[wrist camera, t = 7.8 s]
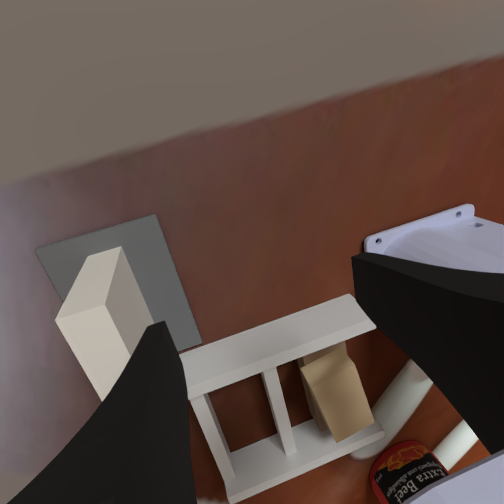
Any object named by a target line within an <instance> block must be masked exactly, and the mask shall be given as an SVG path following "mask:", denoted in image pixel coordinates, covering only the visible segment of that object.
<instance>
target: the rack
mask: <svg viewBox="0 0 504 504" xmlns="http://www.w3.org/2000/svg"><path fill="white" fill-rule="evenodd" d="M373 329H376V325H375V324H374V323H373V322H372V321H371V320H370V319H369V317H368V316H367V315H366V314H365V313H364V311H363V310H362V309H361V307H360V306H359V305H358V304H357V302H356V299H355V298H354V297H352V296H351V295H350V294H346V295H344V296H341V297H338V298H335V299H333V300H330V301H327V302H324V303H321V304H319V305H316V306H313V307H310V308H307V309H305V310H302V311H299V312H296V313H293V314H291V315H288V316H285V317H282V318H280V319H277V320H274V321H271V322H268V323H266V324H263V325H260V326H257V327H254V328H252V329H249V330H246V331H243V332H241V333H238V334H235V335H232V336H229V337H227V338H224V339H221V340H218V341H215V342H213V343H210V344H207V345H204V346H201V347H199V348H196V349H193V350H190V351H188V352H185V353H182V354H179V356H180V359H181V361H182V363H183V368H184V373H185V379H186V385H187V391H188V400H190V402H191V405H192V407H193V409H194V412H195V414H196V416H197V419H198V421H199V423H200V426H201V428H202V430H203V433H204V435H205V437H206V440H207V442H208V444H209V447H210V449H211V452H212V454H213V456H214V459H215V461H216V463H217V466H218V468H219V470H220V473H221V475H222V477H223V480H224V482H225V488H226V493H227V498H228V501H229V503H230V504H235V503H237V502H239V501H241V500H244V499H246V498H248V497H250V496H253V495H255V494H257V493H260V492H262V491H264V490H266V489H269V488H271V487H273V486H275V485H278V484H280V483H282V482H285V481H287V480H289V479H291V478H294V477H296V476H298V475H300V474H303V473H305V472H307V471H309V470H312V469H314V468H316V467H319V466H321V465H323V464H325V463H328V462H330V461H332V460H334V459H337V458H339V457H341V456H344V455H346V454H348V453H350V452H353V451H355V450H357V449H359V448H362V447H364V446H366V445H369V444H371V443H373V442H375V441H378V440H380V439H382V438H384V429H383V428H382V427H381V425H380V424H379V422H378V421H377V420H376V418H375V417H374V416H373V414H372V416H373V419H374V422H375V423H373V424H371V425H369V426H367V427H366V428H364V429H362V430H360V431H358V432H357V433H355V434H353V435H351V436H349V437H347V438H346V439H344V440H342V441H340V442H338V443H336V441H335V440H334V438H333V436H332V434H331V432H330V430H329V429H326V430H324V431H322V432H320V430H319V428H318V426H317V424H316V422H315V420H314V419H311V420H309V421H306V422H304V423H301V424H299V425H296V426H294V427H292V428H291V425H290V421H289V417H288V413H287V409H286V405H285V401H284V397H283V393H282V389H281V385H280V381H279V378H278V374H277V370H276V366H279V365H282V364H284V363H287V362H289V361H292V360H295V359H297V358H300V357H302V356H305V355H308V354H310V353H313V352H316V351H318V350H321V349H323V348H326V347H329V346H331V345H334V344H337V343H339V342H342V341H344V340H347V339H350V338H352V337H355V336H358V335H360V334H363V333H365V332H368V331H371V330H373ZM258 373H261V376H262V379H263V383H264V387H265V390H266V394H267V397H268V401H269V404H270V408H271V411H272V415H273V418H274V422H275V425H276V429H277V434H275V435H272V436H270V437H268V438H265V439H263V440H260V441H258V442H256V443H253V444H251V445H248V446H246V447H243V448H241V449H239V450H236V451H234V452H231V453H230V450H229V447H228V445H227V442H226V440H225V437H224V435H223V432H222V429H221V427H220V424H219V422H218V419H217V417H216V414H215V411H214V409H213V406H212V404H211V401H210V398H209V396H208V392H211V391H213V390H216V389H219V388H221V387H224V386H227V385H229V384H232V383H234V382H237V381H240V380H242V379H245V378H247V377H250V376H253V375H255V374H258Z"/></svg>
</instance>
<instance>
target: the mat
mask: <svg viewBox="0 0 504 504" xmlns="http://www.w3.org/2000/svg"><path fill="white" fill-rule="evenodd" d="M120 246H122V249H123V251H124V253H125V256H126V258H127V260H128V263H129V265H130V267H131V270H132V272H133V275H134V277H135V279H136V282H137V284H138V286H139V289H140V291H141V293H142V296H143V298H144V300H145V303H146V305H147V307H148V310H149V312H150V314H151V317H152V319H153V321H154V324H155V323H158V322H161V321H164V320H165V322H166V324H167V327H168V329H169V332H170V334H171V337H172V339H173V341H174V344H175V346H176V349H177V351H181V350H184V349H187V348H190V347H192V346H195V345H198V344H201V343H202V339H201V336H200V334H199V331H198V328H197V325H196V323H195V320H194V317H193V314H192V312H191V309H190V306H189V303H188V301H187V298H186V295H185V292H184V290H183V287H182V284H181V281H180V279H179V276H178V273H177V270H176V268H175V265H174V262H173V259H172V257H171V254H170V251H169V248H168V246H167V243H166V240H165V237H164V235H163V232H162V229H161V226H160V224H159V221H158V218H157V215H156V214H153V215H149V216H146V217H142V218H139V219H135V220H132V221H128V222H125V223H122V224H118V225H115V226H111V227H108V228H104V229H101V230H97V231H94V232H90V233H87V234H83V235H80V236H77V237H73V238H70V239H66V240H63V241H59V242H56V243H52V244H49V245H45V246H42V247H39V248H36V249H35V252H36V254H37V256H38V258H39V259H40V261H41V263H42V265H43V267H44V268H45V270H46V272H47V274H48V276H49V277H50V279H51V281H52V283H53V285H54V286H55V288H56V290H57V292H58V294H59V295H60V297H61V299H62V301H63V303H64V302H65V300H66V298H67V296H68V294H69V292H70V290H71V288H72V286H73V284H74V282H75V280H76V278H77V276H78V274H79V272H80V270H81V268H82V266H83V264H84V262H85V260H86V259H87V257H88V256H90V255H93V254H97V253H100V252H103V251H107V250H110V249H114V248H117V247H120Z"/></svg>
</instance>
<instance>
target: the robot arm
mask: <svg viewBox="0 0 504 504" xmlns="http://www.w3.org/2000/svg"><path fill="white" fill-rule="evenodd" d="M456 213H457V215H456ZM377 239H378V242H377V243H375V242H376V240H377ZM364 251H365V252H364V253H361V254H358V255H355V256H352V257H351V260H352V269H353V279H354V288H355V298H356V302H357V304H358V305H359V306H360V307H361V309H362V310H363V311H364V313H365V314H366V315H367V316H368V317H369V319H370V320H371V321H372V322H373V323H374V324H375V325H376V326H377V327H378V328H379V329H380V330H381V331H382V332H383V333H384V334H385V335H386V336H387V337H389V338H390V339H391V340H392V341H393V342H394V343H395V344H396V345H397V346H398V347H399V348H400V349H401V350H402V351H403V352H405V353H406V354H407V355H408V356H409V357H410V358H411V359H412V360H413V361H414V362H415V363H416V364H417V365H418V366H419V367H420V368H421V369H422V370H423V371H424V372H425V373H426V375H427V376H428V377H429V378H430V379H431V380H432V381H433V383H434V384H435V385H436V386H437V387H438V388H439V390H440V391H441V392H442V393H443V394H444V395H445V397H446V398H447V399H448V400H449V402H450V403H451V404H452V405H453V406H454V408H455V409H456V410H457V411H458V413H459V414H460V415H461V416H462V417H463V419H464V420H465V421H466V423H467V424H468V425H469V426H470V428H471V429H472V430H473V432H474V433H475V434H476V436H477V437H478V438H479V439H480V441H481V442H482V443H483V445H484V446H485V447H486V449H487V450H488V451H489V453H490V454H491V456H489V457H487V458H484V459H482V460H480V461H478V462H476V463H474V464H472V465H470V466H468V467H465V468H463V469H461V470H459V471H457V472H455V473H453V474H451V475H449V476H447V477H444V478H442V479H440V480H438V481H436V482H434V483H432V484H430V485H428V486H427V487H425V488H423V489H422V490H420V491H419V492H417V493H416V494H414V495H413V496H411V497H410V498H408V499H407V500H405V501H404V502H403V503H402V504H504V225H501V224H498V223H495V222H491V221H488V220H485V219H481V218H478V217H475V216H474V206H473V205H471V204H464V205H461V206H458V207H455V208H452V209H449V210H446V211H443V212H440V213H437V214H434V215H431V216H428V217H425V218H422V219H419V220H416V221H413V222H410V223H407V224H404V225H401V226H398V227H395V228H392V229H389V230H386V231H383V232H380V233H377V234H374V235H371V236H369V237H367V238H366V239H365V241H364ZM7 504H197V500H196V493H195V486H194V479H193V472H192V464H191V453H190V432H189V410H188V391H187V385H186V379H185V373H184V368H183V363H182V361H181V359H180V356H179V354H178V351H177V349H176V346H175V344H174V341H173V339H172V337H171V334H170V332H169V329H168V327H167V324H166V322H165V320H164V321H161V322H158V323H155V324H152V325H149V326H147V328H146V330H145V331H144V333H143V335H142V337H141V339H140V341H139V343H138V345H137V346H136V348H135V350H134V352H133V354H132V356H131V357H130V359H129V361H128V363H127V365H126V366H125V368H124V370H123V371H122V373H121V375H120V376H119V378H118V379H117V381H116V383H115V384H114V386H113V387H112V389H111V390H110V392H109V393H108V395H107V396H106V398H105V399H104V400H103V402H102V403H101V404H100V406H99V407H98V408H97V410H96V411H95V412H94V414H93V415H92V416H91V417H90V419H89V420H88V421H87V422H86V424H85V425H84V426H83V427H82V428H81V429H80V430H79V432H78V433H77V434H76V435H75V436H74V437H73V438H72V440H71V441H70V442H69V443H68V444H67V445H66V446H65V447H64V449H63V450H62V451H61V452H60V453H59V454H58V455H57V456H56V457H55V458H54V459H53V460H52V461H51V462H50V463H49V464H48V465H47V466H46V467H45V468H44V469H43V470H42V471H41V472H40V473H39V474H38V475H37V476H36V477H35V478H34V479H33V480H32V481H31V482H30V483H29V484H28V485H27V486H26V487H25V488H24V489H23V490H22V491H21V492H19V493H18V494H17V495H16V496H15V497H14V498H13V499H12V500H11V501H9V502H8V503H7Z"/></svg>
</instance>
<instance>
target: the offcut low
mask: <svg viewBox="0 0 504 504" xmlns="http://www.w3.org/2000/svg"><path fill="white" fill-rule="evenodd" d="M340 347H341V348H342V349H343V350H344V352H345V353H346V354H347V351H346V344H345V340H344V341H342V342H339V343H337V344H334V345H331V346H329V347H326V348H323V349H321V350H318V351H316V352H313V353H310V354H308V355H305V356H302V357H300V358H297V362H298V366H299V370H300V374H301V378H302V382H303V385H304V389H305V393H306V397H307V401H308V405H309V409H310V413H311V415H312V417H313V419H314V420H315V422H316V424H317V426H318V428H319V430H320V432H322V431H324V430H326V429H329V428H328V427H327V425H326V423H325V421H324V419H323V417H322V414H321V412H320V410H319V408H318V406H317V403H316V401H315V399H314V397H313V395H312V393H311V390H310V388H309V386H308V384H307V382H306V380H305V377H304V375H303V373H302V371H301V369H300V368H302V367H304V366H306V365H308V364H309V363H311V362H313V361H315V360H317V359H319V358H321V357H323V356H325V355H326V354H328V353H330V352H332V351H334V350H336V349H338V348H340Z"/></svg>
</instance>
